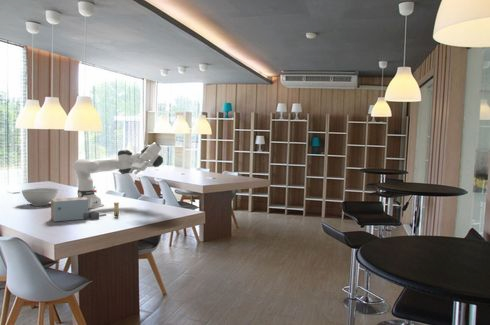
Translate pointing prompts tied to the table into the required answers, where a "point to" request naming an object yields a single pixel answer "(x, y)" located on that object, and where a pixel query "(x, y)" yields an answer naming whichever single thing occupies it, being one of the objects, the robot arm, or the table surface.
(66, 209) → the cabinet door
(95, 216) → the grey hollow ring
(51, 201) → the cabinet
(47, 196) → the decorative bowl
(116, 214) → the hinge pin
